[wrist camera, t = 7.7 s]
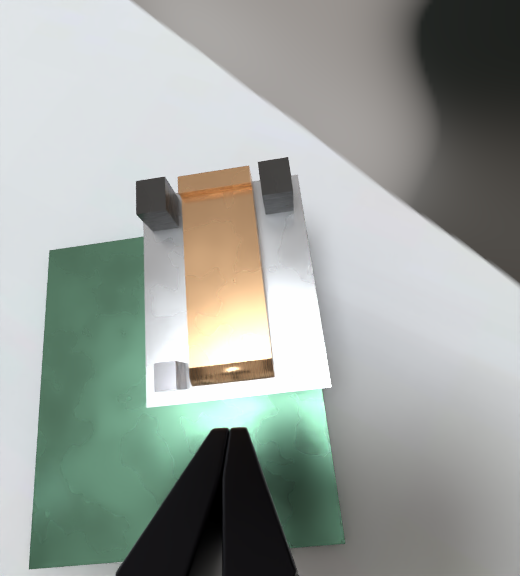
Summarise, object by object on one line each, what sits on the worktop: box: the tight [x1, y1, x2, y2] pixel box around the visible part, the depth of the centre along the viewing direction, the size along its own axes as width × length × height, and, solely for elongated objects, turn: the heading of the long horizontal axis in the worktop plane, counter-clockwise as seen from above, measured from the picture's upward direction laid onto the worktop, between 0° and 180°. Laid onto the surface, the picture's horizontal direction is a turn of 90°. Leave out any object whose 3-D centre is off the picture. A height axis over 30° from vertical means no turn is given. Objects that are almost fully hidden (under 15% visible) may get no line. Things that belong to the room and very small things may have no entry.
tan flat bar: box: [178, 166, 275, 387], centre depth 14 cm, size 8×3×1 cm, turn 6°
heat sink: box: [29, 157, 345, 569], centre depth 16 cm, size 17×16×8 cm
